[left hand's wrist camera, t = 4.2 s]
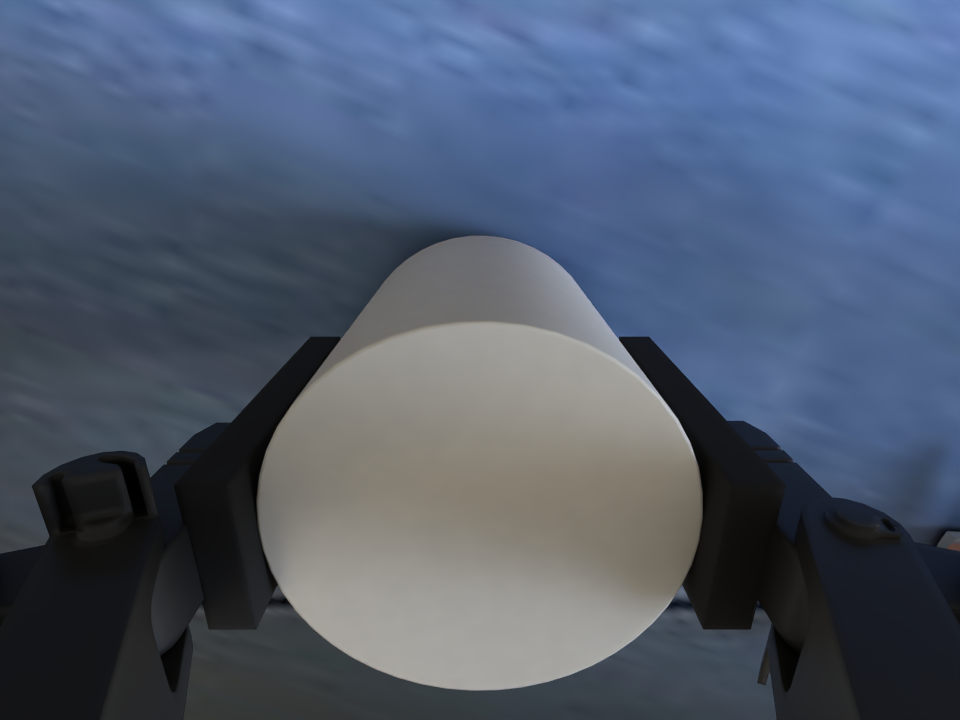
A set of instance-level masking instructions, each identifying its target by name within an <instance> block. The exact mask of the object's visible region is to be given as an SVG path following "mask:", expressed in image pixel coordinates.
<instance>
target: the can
mask: <svg viewBox="0 0 960 720" xmlns="http://www.w3.org/2000/svg"><path fill="white" fill-rule="evenodd" d="M256 502H257V522H258V530H259V535H260V539H261V544H262V549H263V552H264V554H265V557H266V560H267V562H268V565H269V568H270V570H271V573H272V575H273V576H274V578H275V580H276V582H277V584H278V585H279V587H280V589H281V591H282V593H283V594H284V595H285V597H286V598H287V599H288V601H289V602H290V603H291V605H292V606H293V608H294V609H295V610H296V612H297V613H298V614H299V615H300V616H301V617H302V618H303V619H304V620H305V621H306V622H307V623H308V624H309V625H310V626H311V627H312V628H313V629H314V630H315V631H316V632H317V633H319V634H320V635H321V636H322V637H324V638H325V639H326V640H327V641H328V642H330V643H331V644H332V645H334V646H335V647H337V648H338V649H340V650H341V651H343V652H345V653H346V654H348V655H349V656H351V657H352V658H354V659H356V660H358V661H360V662H362V663H364V664H366V665H368V666H370V667H372V668H374V669H376V670H379V671H382V672H384V673H387V674H390V675H392V676H395V677H397V678H401V679H405V680H408V681H412V682H416V683H419V684H424V685H430V686H435V687H441V688H447V689H460V690H501V689H510V688H519V687H525V686H530V685H535V684H540V683H545V682H548V681H552V680H555V679H558V678H561V677H565V676H568V675H571V674H573V673H576V672H578V671H580V670H583V669H585V668H587V667H590V666H592V665H594V664H596V663H598V662H600V661H601V660H603V659H605V658H607V657H609V656H611V655H612V654H614V653H616V652H617V651H618V650H620V649H621V648H623V647H624V646H626V645H627V644H628V643H630V642H631V641H633V640H634V639H635V638H636V637H638V636H639V635H640V634H641V633H642V632H643V631H644V630H645V629H647V628H648V627H649V626H650V625H651V624H652V623H653V622H654V621H655V620H656V619H657V618H658V616H659V615H660V614H661V613H662V612H663V611H664V610H665V608H666V607H667V606H668V605H669V603H670V602H671V600H672V599H673V598H674V596H675V595H676V593H677V592H678V590H679V589H680V587H681V586H682V584H683V582H684V579H685V577H686V575H687V573H688V571H689V569H690V567H691V565H692V562H693V559H694V556H695V553H696V550H697V547H698V544H699V539H700V533H701V526H702V520H703V490H702V484H701V478H700V472H699V466H698V464H697V461H696V458H695V455H694V452H693V449H692V446H691V443H690V441H689V439H688V437H687V435H686V433H685V431H684V430H683V428H682V426H681V424H680V422H679V420H678V418H677V417H676V416H675V414H674V413H673V412H672V410H671V409H670V408H669V406H668V405H667V404H666V402H665V401H664V400H663V398H662V397H661V396H660V394H659V393H658V392H657V390H656V389H655V388H654V386H653V385H652V384H651V382H650V381H649V380H648V378H647V377H646V376H645V374H644V373H643V372H642V370H641V369H640V368H639V366H638V365H637V364H636V362H635V361H634V360H633V358H632V357H631V356H630V354H629V353H628V352H627V350H626V349H625V348H624V346H623V345H622V344H621V342H620V341H619V340H618V338H617V337H616V336H615V334H614V333H613V332H612V330H611V329H610V327H609V326H608V325H607V323H606V322H605V321H604V319H603V318H602V317H601V315H600V314H599V313H598V311H597V310H596V309H595V307H594V306H593V305H592V303H591V302H590V301H589V299H588V298H587V297H586V295H585V294H584V293H583V291H582V290H581V289H580V287H579V286H578V285H577V283H576V282H575V281H574V279H573V278H572V277H571V276H570V275H569V274H568V273H567V272H566V271H565V270H564V269H563V268H562V267H561V266H560V265H559V264H558V263H557V262H555V261H554V260H553V259H551V258H550V257H549V256H547V255H546V254H544V253H542V252H540V251H539V250H537V249H535V248H533V247H531V246H528V245H526V244H523V243H521V242H518V241H514V240H510V239H506V238H502V237H494V236H465V237H459V238H452V239H449V240H446V241H442V242H439V243H436V244H434V245H432V246H429V247H427V248H425V249H423V250H421V251H419V252H418V253H416V254H414V255H413V256H411V257H410V258H408V259H407V260H406V261H404V262H403V263H402V264H401V265H400V266H398V267H397V268H396V269H395V270H394V271H393V272H392V273H391V275H390V276H389V277H388V278H387V279H386V280H385V281H384V283H383V284H382V285H381V287H380V288H379V289H378V291H377V292H376V293H375V295H374V296H373V297H372V299H371V300H370V301H369V303H368V304H367V305H366V307H365V308H364V309H363V311H362V312H361V313H360V315H359V316H358V317H357V319H356V320H355V321H354V323H353V324H352V325H351V327H350V328H349V329H348V331H347V332H346V333H345V335H344V336H343V337H342V339H341V340H340V341H339V343H338V344H337V345H336V347H335V348H334V349H333V351H332V352H331V353H330V355H329V356H328V357H327V359H326V360H325V361H324V363H323V364H322V365H321V367H320V368H319V369H318V371H317V372H316V373H315V375H314V376H313V377H312V379H311V380H310V381H309V383H308V384H307V385H306V387H305V388H304V389H303V391H302V392H301V393H300V395H299V396H298V397H297V399H296V400H295V401H294V403H293V404H292V405H291V407H290V408H289V410H288V411H287V413H286V414H285V416H284V417H283V419H282V420H281V422H280V423H279V425H278V426H277V428H276V430H275V432H274V435H273V437H272V439H271V441H270V443H269V445H268V448H267V450H266V453H265V456H264V460H263V463H262V467H261V470H260V474H259V481H258V490H257V499H256Z"/></svg>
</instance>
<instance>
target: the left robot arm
mask: <svg viewBox="0 0 960 720" xmlns="http://www.w3.org/2000/svg"><path fill="white" fill-rule="evenodd" d="M339 341H340V337H310V338H309V339H308V340H307V341H306V342H305V343H304V345H303V346H302V347H301V348H300V349H299V350H298V351H297V352H296V353H295V354H294V355H293V356H292V358H291V359H290V360H289V361H288V362H287V363H286V364H285V365H284V366H283V367H282V368H281V369H280V371H279V372H278V373H277V374H276V375H275V376H274V377H273V378H272V379H271V380H270V381H269V382H268V383H267V385H266V386H265V387H264V388H263V389H262V390H261V391H260V392H259V393H258V394H257V395H256V396H255V398H254V399H253V400H252V401H251V402H250V403H249V404H248V405H247V406H246V407H245V408H244V409H243V411H242V412H241V413H240V414H239V415H238V416H237V417H236V418H235V419H234V420H233V421H232V422H231V423H215V424H213V425H212V426H210V427H208V428H206V429H204V430H202V431H201V432H199V433H197V434H195V435H194V436H193V437H192V438H191V439H189V440H188V441H187V442H186V443H185V444H184V445H183V446H182V447H181V448H180V449H179V452H176V453H175V454H174V455H173V456H172V457H171V458H170V459H169V460H168V461H167V465H163V466H162V467H161V468H160V469H159V470H158V471H157V472H156V473H155V474H154V475H153V476H152V477H151V478H150V476H149V472H148V469H147V465H146V461H145V458H144V457H142V456H141V455H139V454H137V453H134V452H126V451H114V452H102V453H98V454H94V455H89V456H85V457H81V458H78V459H76V460H73V461H71V462H68V463H65V464H63V465H60V466H58V467H57V468H55V469H53V470H51V471H50V472H48V473H46V474H44V475H43V476H42V477H41V478H40V479H39V480H37V481H36V482H35V483H34V484H33V485H32V488H33V491H34V494H35V496H36V499H37V502H38V505H39V508H40V510H41V513H42V516H43V519H44V522H45V524H46V527H47V530H48V533H49V536H50V537H49V539H48V541H47V543H46V544H45V545H43V546H38V547H33V548H28V549H23V550H17V551H12V552H7V553H2V554H0V720H183V718H184V711H185V703H186V696H187V689H188V682H189V674H190V667H191V660H192V653H193V643H192V636H191V633H190V629H189V625H188V624H189V623H190V621H191V619H192V618H193V616H194V614H195V613H196V611H197V610H198V608H199V606H200V605H201V603H203V607H204V611H205V616H206V620H207V624H208V628H209V629H257V627H258V624H259V622H260V620H261V618H262V616H263V614H264V612H265V610H266V607H267V605H268V603H269V601H270V599H271V597H272V595H273V593H274V590H275V588H276V586H277V582H276V580H275V578H274V576H273V575H272V573H271V570H270V568H269V565H268V562H267V560H266V557H265V554H264V552H263V549H262V544H261V539H260V535H259V530H258V522H257V502H256V499H257V490H258V481H259V474H260V470H261V467H262V463H263V460H264V456H265V453H266V450H267V448H268V445H269V443H270V441H271V439H272V437H273V435H274V432H275V430H276V428H277V426H278V425H279V423H280V422H281V420H282V419H283V417H284V416H285V414H286V413H287V411H288V410H289V408H290V407H291V405H292V404H293V403H294V401H295V400H296V399H297V397H298V396H299V395H300V393H301V392H302V391H303V389H304V388H305V387H306V385H307V384H308V383H309V381H310V380H311V379H312V377H313V376H314V375H315V373H316V372H317V371H318V369H319V368H320V367H321V365H322V364H323V363H324V361H325V360H326V359H327V357H328V356H329V355H330V353H331V352H332V351H333V349H334V348H335V347H336V345H337V344H338V343H339ZM619 341H620V342H621V344H622V345H623V346H624V348H625V349H626V350H627V352H628V353H629V354H630V356H631V357H632V358H633V360H634V361H635V362H636V364H637V365H638V366H639V368H640V369H641V370H642V372H643V373H644V374H645V376H646V377H647V378H648V380H649V381H650V382H651V384H652V385H653V386H654V388H655V389H656V390H657V392H658V393H659V394H660V396H661V397H662V398H663V400H664V401H665V402H666V404H667V405H668V406H669V408H670V409H671V410H672V412H673V413H674V414H675V416H676V417H677V418H678V420H679V422H680V424H681V426H682V428H683V430H684V431H685V433H686V435H687V437H688V439H689V441H690V443H691V446H692V449H693V452H694V455H695V458H696V461H697V464H698V466H699V472H700V478H701V484H702V490H703V520H702V526H701V533H700V539H699V544H698V547H697V550H696V553H695V556H694V559H693V562H692V565H691V567H690V569H689V571H688V573H687V575H686V577H685V579H684V582H683V584H682V585H683V587H684V589H685V591H686V593H687V595H688V598H689V600H690V602H691V604H692V606H693V608H694V610H695V612H696V615H697V617H698V619H699V621H700V623H701V625H702V627H703V629H751V626H752V622H753V618H754V614H755V610H756V606H757V602H758V601H759V603H760V604H761V606H762V607H763V609H764V611H765V612H766V614H767V615H768V617H769V619H770V620H771V622H772V625H771V629H770V633H769V636H768V640H767V644H766V648H765V652H764V656H763V659H762V663H761V667H760V671H759V677H758V683H759V684H763V685H766V681H767V678H768V674H769V673H771V680H772V687H773V695H774V702H775V709H776V716H777V720H960V551H956V550H951V549H945V548H940V547H935V546H930V545H925V544H920V543H915V542H914V541H913V540H912V538H911V536H910V535H909V534H908V533H907V531H906V530H905V529H904V528H903V527H902V526H901V524H899V523H898V522H896V521H895V520H893V519H892V518H890V517H889V516H887V515H886V514H885V513H883V512H880V511H878V510H876V509H874V508H871V507H869V506H867V505H865V504H862V503H858V502H854V501H851V500H847V499H842V498H832V497H831V496H830V495H829V494H828V493H827V492H826V491H825V490H824V489H823V488H822V487H821V486H820V485H819V484H818V483H817V482H816V481H814V480H813V479H812V478H811V477H810V476H809V475H808V474H807V473H806V472H805V471H804V470H803V469H802V468H801V467H800V466H799V465H798V464H797V463H793V459H792V458H791V457H790V456H789V455H788V454H787V453H786V452H785V451H784V450H781V447H780V446H779V445H778V444H777V443H776V442H775V441H773V440H772V439H771V438H770V437H769V436H768V435H767V434H766V433H765V432H763V431H761V430H759V429H757V428H756V427H754V426H752V425H750V424H748V423H746V422H744V421H726V420H725V419H724V417H723V416H722V415H721V414H720V413H719V412H718V411H717V410H716V409H715V408H714V407H713V406H712V404H711V403H710V402H709V401H708V400H707V399H706V398H705V397H704V396H703V395H702V394H701V393H700V391H699V390H698V389H697V388H696V387H695V386H694V385H693V384H692V383H691V382H690V381H689V380H688V378H687V377H686V376H685V375H684V374H683V373H682V372H681V371H680V370H679V369H678V368H677V367H676V366H675V364H674V363H673V362H672V361H671V360H670V359H669V358H668V357H667V356H666V355H665V354H664V353H663V351H662V350H661V349H660V348H659V347H658V346H657V345H656V344H655V343H654V342H653V341H652V340H651V338H650V337H619Z"/></svg>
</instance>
